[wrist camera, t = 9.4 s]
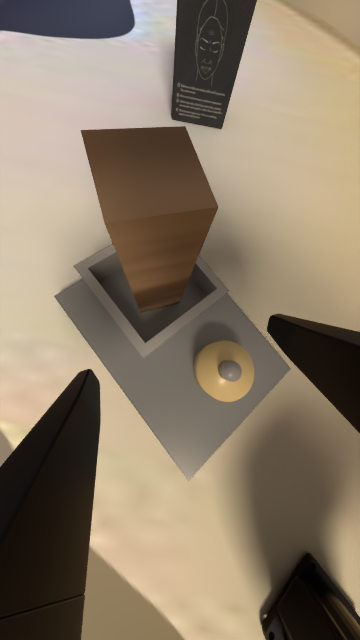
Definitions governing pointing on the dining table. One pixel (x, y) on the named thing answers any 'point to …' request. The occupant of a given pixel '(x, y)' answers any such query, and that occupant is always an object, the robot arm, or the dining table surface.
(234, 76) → the box
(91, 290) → the housing
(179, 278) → the wooden block
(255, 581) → the dining table surface
